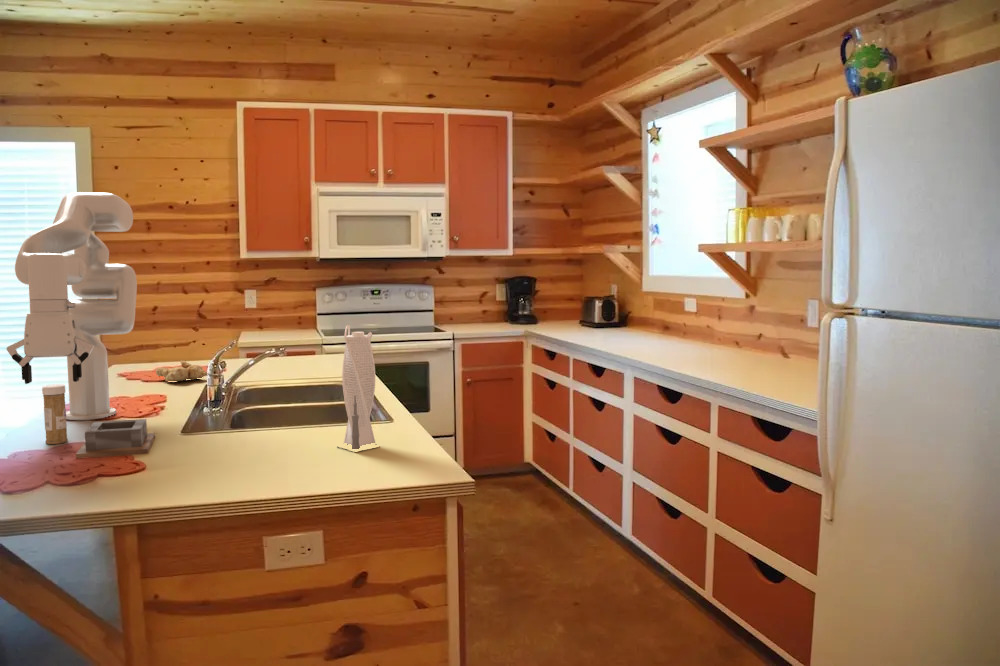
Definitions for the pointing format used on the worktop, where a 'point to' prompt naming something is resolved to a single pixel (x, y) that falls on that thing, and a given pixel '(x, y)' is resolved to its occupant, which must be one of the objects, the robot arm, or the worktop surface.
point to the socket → (116, 439)
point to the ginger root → (182, 372)
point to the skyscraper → (358, 387)
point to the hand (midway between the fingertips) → (52, 381)
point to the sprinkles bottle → (55, 413)
